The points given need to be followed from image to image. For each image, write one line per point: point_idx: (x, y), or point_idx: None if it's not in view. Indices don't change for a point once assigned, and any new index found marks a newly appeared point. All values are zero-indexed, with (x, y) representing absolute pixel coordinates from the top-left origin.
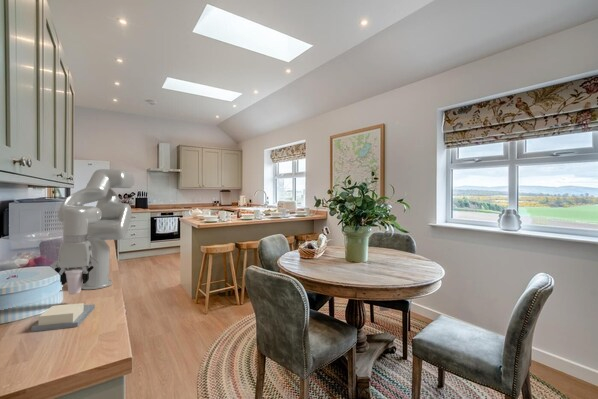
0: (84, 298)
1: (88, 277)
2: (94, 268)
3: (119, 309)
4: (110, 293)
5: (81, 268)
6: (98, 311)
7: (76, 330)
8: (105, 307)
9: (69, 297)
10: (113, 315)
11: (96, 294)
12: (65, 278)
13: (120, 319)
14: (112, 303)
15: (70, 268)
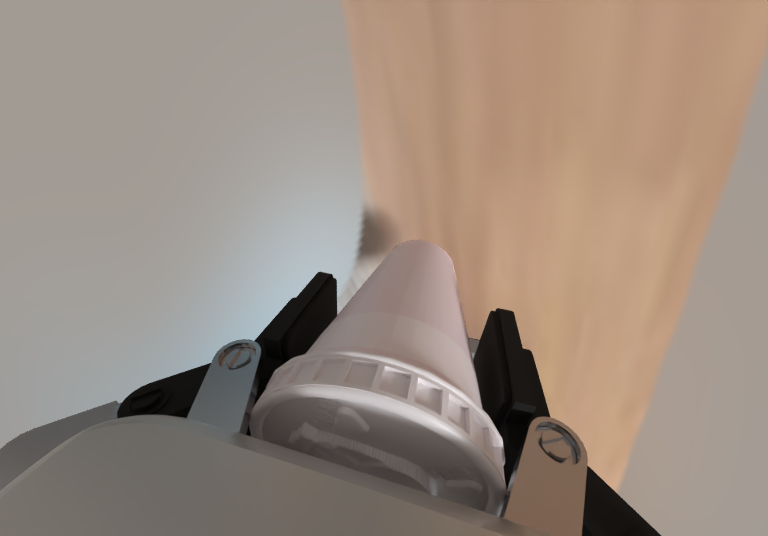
0: (472, 162)
1: (530, 376)
2: None
3: (640, 416)
4: (681, 89)
5: (453, 495)
6: (544, 393)
7: None
8: (581, 366)
9: (371, 94)
10: (597, 452)
11: (557, 78)
12: (316, 337)
13: (614, 489)
14: (630, 330)
15: (297, 443)
